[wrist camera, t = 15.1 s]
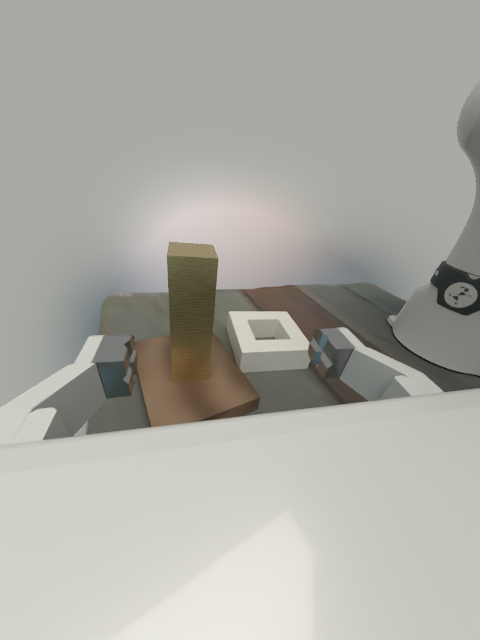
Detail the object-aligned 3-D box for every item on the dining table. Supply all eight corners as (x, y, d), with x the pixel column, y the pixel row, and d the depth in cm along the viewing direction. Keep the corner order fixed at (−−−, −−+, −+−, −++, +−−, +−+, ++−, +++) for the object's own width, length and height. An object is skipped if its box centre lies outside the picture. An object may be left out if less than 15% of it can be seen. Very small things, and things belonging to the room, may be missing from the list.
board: (209, 338, 36) (209, 327, 35) (257, 409, 26) (260, 397, 25) (132, 354, 31) (130, 342, 30) (155, 451, 21) (154, 438, 20)
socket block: (282, 328, 41) (286, 311, 39) (307, 368, 33) (314, 349, 31) (226, 329, 39) (228, 311, 37) (238, 373, 30) (242, 352, 29)
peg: (206, 355, 30) (212, 244, 22) (209, 379, 26) (218, 258, 19) (173, 357, 29) (169, 241, 21) (172, 381, 25) (167, 255, 18)
